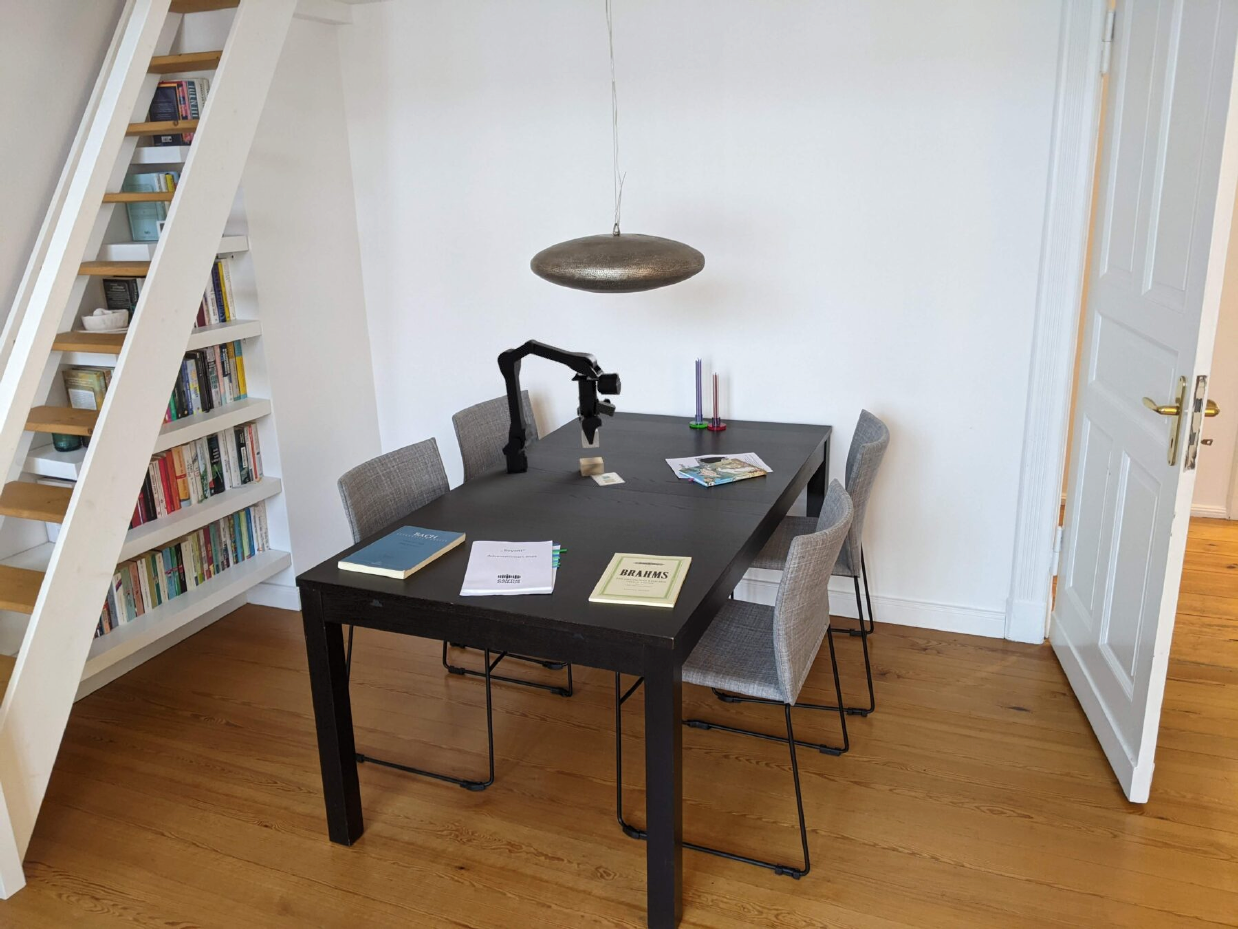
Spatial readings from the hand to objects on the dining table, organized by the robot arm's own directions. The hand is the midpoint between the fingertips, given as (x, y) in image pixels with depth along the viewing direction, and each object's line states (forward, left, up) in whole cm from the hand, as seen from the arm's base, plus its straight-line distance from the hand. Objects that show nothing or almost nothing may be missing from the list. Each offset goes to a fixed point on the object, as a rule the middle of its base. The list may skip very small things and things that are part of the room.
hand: (590, 442), depth 301 cm
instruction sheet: (+4, -9, -10) cm, 14 cm away
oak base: (0, 0, -10) cm, 10 cm away
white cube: (0, 0, -1) cm, 1 cm away
